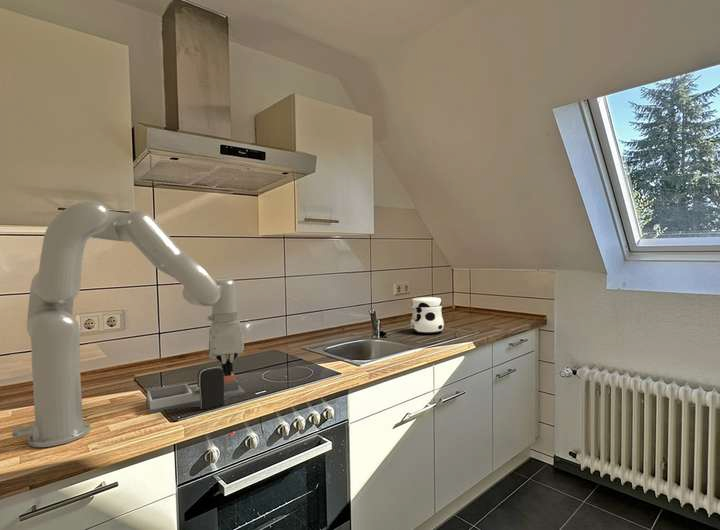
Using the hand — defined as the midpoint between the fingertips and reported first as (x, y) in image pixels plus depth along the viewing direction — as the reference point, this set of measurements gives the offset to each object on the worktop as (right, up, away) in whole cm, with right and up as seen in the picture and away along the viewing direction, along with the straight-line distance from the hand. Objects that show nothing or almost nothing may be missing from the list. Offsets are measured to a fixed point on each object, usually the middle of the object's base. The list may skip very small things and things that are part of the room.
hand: (227, 374), depth 133 cm
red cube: (0, -4, 0) cm, 4 cm away
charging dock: (-8, -6, -5) cm, 11 cm away
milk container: (+78, -1, +86) cm, 117 cm away
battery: (-1, -6, -12) cm, 14 cm away
